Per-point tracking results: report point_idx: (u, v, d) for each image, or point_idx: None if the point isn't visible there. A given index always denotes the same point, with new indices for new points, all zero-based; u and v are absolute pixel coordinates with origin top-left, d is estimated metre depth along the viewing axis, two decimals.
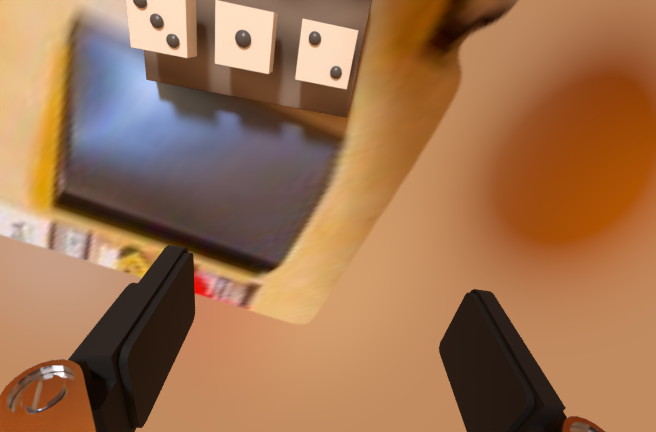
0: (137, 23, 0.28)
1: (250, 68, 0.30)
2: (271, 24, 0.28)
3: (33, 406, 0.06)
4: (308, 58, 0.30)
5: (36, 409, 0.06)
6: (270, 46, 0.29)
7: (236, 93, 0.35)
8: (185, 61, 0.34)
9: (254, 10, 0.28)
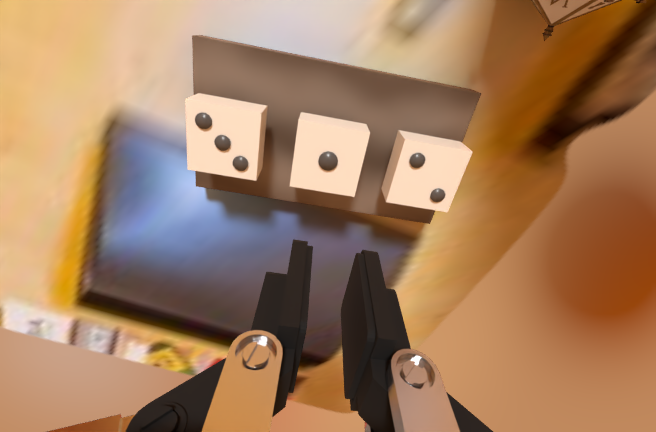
0: (198, 145, 0.23)
1: (332, 191, 0.24)
2: (365, 145, 0.23)
3: (246, 361, 0.07)
4: (406, 180, 0.24)
5: (247, 365, 0.07)
6: (360, 168, 0.24)
7: (301, 199, 0.30)
8: None
9: (345, 131, 0.22)
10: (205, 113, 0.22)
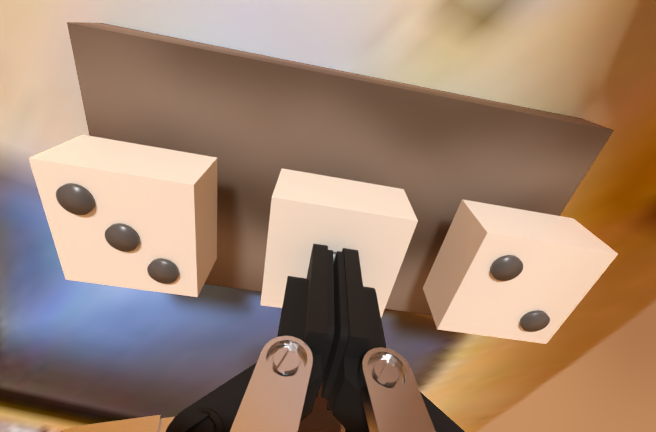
0: (75, 240, 0.11)
1: None
2: (406, 242, 0.11)
3: (277, 366, 0.07)
4: (478, 298, 0.13)
5: (277, 370, 0.07)
6: (393, 278, 0.12)
7: None
8: None
9: (368, 218, 0.11)
10: (78, 185, 0.10)
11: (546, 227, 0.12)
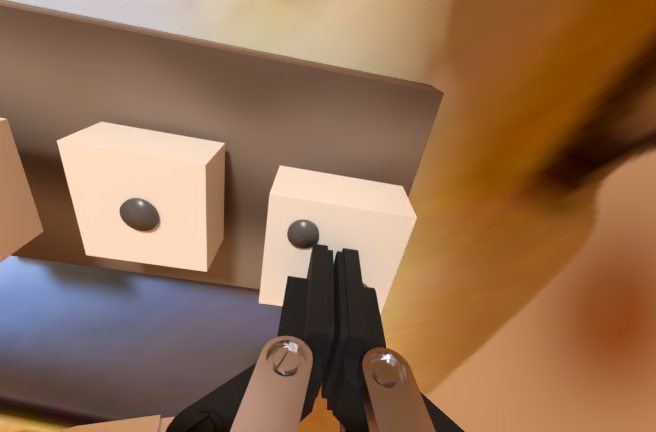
0: None
1: (165, 263, 0.14)
2: (202, 188, 0.12)
3: (277, 366, 0.07)
4: (289, 268, 0.12)
5: (277, 370, 0.07)
6: (205, 226, 0.13)
7: (152, 269, 0.18)
8: None
9: (156, 162, 0.11)
10: None
11: (355, 192, 0.12)
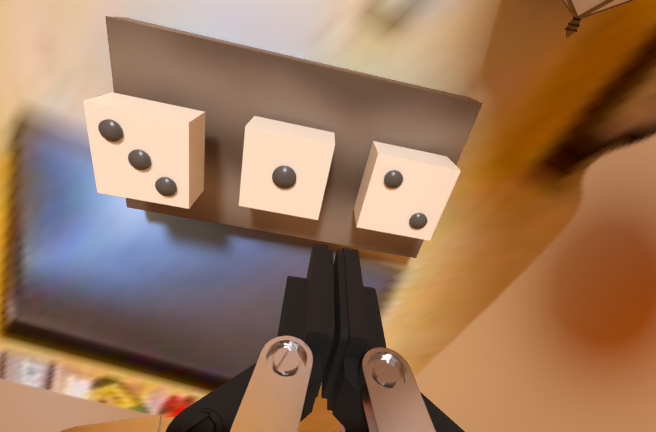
0: (107, 161, 0.17)
1: (291, 212, 0.20)
2: (329, 160, 0.18)
3: (277, 366, 0.07)
4: (380, 202, 0.20)
5: (277, 370, 0.07)
6: (324, 186, 0.19)
7: (259, 226, 0.24)
8: None
9: (304, 142, 0.18)
10: (113, 121, 0.16)
11: (422, 157, 0.20)
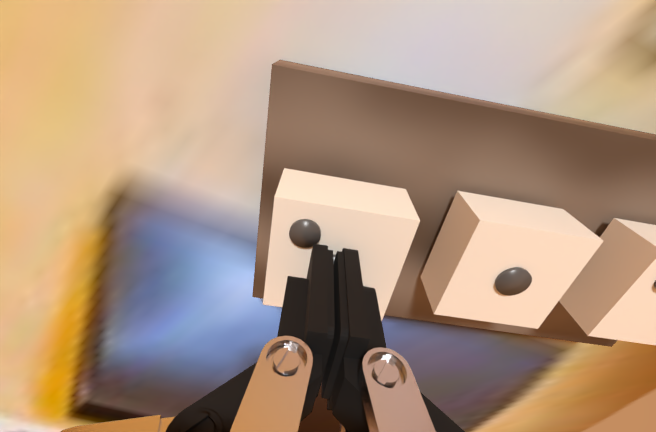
0: (287, 269, 0.12)
1: (504, 321, 0.15)
2: (586, 259, 0.13)
3: (277, 366, 0.07)
4: (635, 308, 0.14)
5: (277, 370, 0.07)
6: (563, 290, 0.14)
7: (418, 315, 0.19)
8: None
9: (559, 238, 0.12)
10: (310, 220, 0.11)
11: None
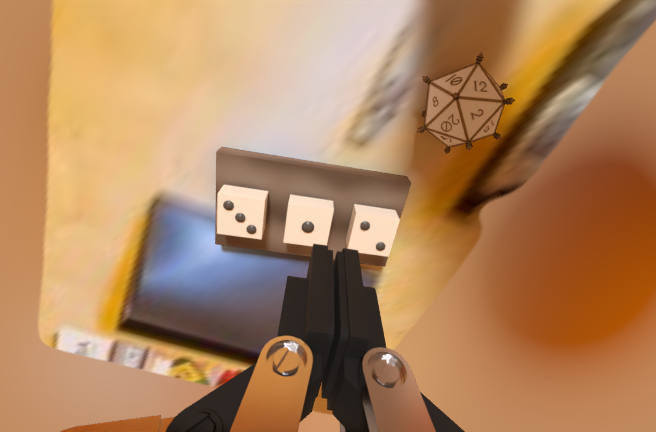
0: (224, 219, 0.35)
1: (311, 245, 0.37)
2: (331, 217, 0.36)
3: (277, 366, 0.07)
4: (359, 237, 0.37)
5: (277, 370, 0.07)
6: (329, 230, 0.36)
7: (291, 251, 0.41)
8: None
9: (318, 209, 0.35)
10: (229, 201, 0.34)
11: (380, 212, 0.37)
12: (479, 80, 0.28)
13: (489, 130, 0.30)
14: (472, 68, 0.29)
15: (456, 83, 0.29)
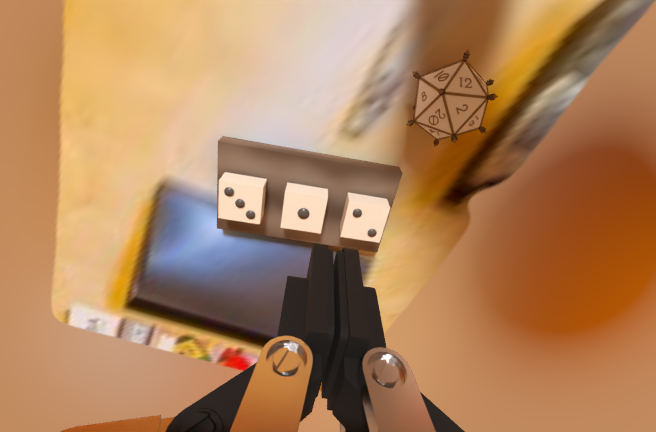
0: (225, 204, 0.38)
1: (307, 230, 0.40)
2: (325, 204, 0.38)
3: (277, 366, 0.07)
4: (351, 224, 0.39)
5: (277, 370, 0.07)
6: (323, 217, 0.39)
7: (288, 236, 0.44)
8: None
9: (313, 197, 0.37)
10: (230, 187, 0.37)
11: (372, 200, 0.39)
12: (465, 77, 0.30)
13: (474, 124, 0.32)
14: (459, 65, 0.30)
15: (443, 79, 0.30)
